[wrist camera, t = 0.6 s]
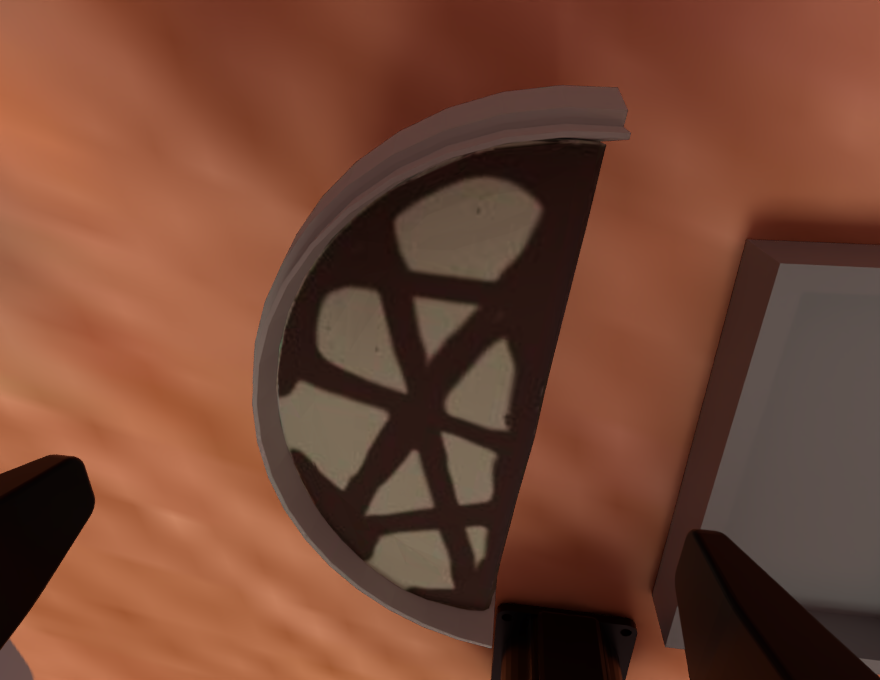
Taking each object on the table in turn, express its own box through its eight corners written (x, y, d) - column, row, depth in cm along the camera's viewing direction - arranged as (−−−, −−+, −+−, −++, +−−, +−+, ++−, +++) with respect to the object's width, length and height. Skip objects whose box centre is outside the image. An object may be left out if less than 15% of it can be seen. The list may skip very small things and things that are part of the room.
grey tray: (905, 624, 23) (946, 683, 21) (652, 595, 25) (665, 646, 22) (1123, 255, 16) (1220, 283, 14) (746, 239, 17) (780, 263, 15)
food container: (373, 54, 16) (196, 27, 7) (574, 83, 16) (643, 90, 7) (352, 393, 22) (236, 609, 13) (501, 420, 22) (487, 663, 13)
